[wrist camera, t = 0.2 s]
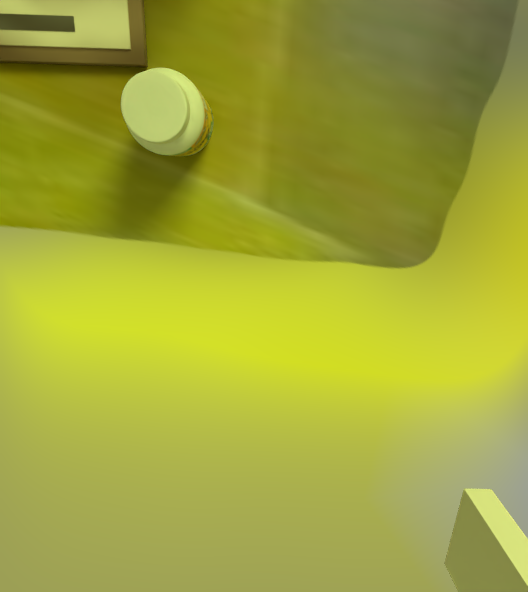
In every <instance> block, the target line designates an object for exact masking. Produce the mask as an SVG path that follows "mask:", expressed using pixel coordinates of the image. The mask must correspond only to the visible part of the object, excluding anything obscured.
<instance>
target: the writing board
mask: <svg viewBox="0 0 528 592" xmlns="http://www.w3.org/2000/svg"><path fill="white" fill-rule="evenodd" d="M0 63H31V64H64V65H96V66H128V67H148V66H147V49H146V32H145V15H144V0H0Z"/></svg>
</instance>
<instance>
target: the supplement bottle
mask: <svg viewBox="0 0 528 592" xmlns="http://www.w3.org/2000/svg"><path fill="white" fill-rule="evenodd" d="M121 111H122V115H123V118H124V120H125V122H126V124H127V126H128V129H129V131H130V133H131V134H132V136H133V137H134V138H135V140H136V141H137V142H138V143H139V144H140V145H142V146H143V147H144V148H146V149H148V150H149V151H151V152H154V153H157V154H160V155H170V156H190V155H193V154H195V153H197V152H199V151H200V150H202V149H203V148H204V147H205V146H206V144H207V143H208V141H209V139H210V137H211V133H212V129H213V115H212V111H211V108H210V106H209V104H208V102H207V101H206V99H205V98H204V97H203V95H202V94H201V93H200V92H199V90H198V89H197V88H196V87H195V85H194V84H193V83H192V82H191V81H190V80H189V79H188V78H187V77H186V76H184V75H183V74H181V73H179V72H177V71H175V70H172V69H168V68H153V69H150V70H147V71H144V72H141V73H138V74H136V75H135V76H134V77H132V78H131V79H130V80H129V81H128V82H127V84H126V86H125V87H124V90H123V92H122V97H121Z"/></svg>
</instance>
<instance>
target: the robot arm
mask: <svg viewBox="0 0 528 592" xmlns="http://www.w3.org/2000/svg"><path fill="white" fill-rule="evenodd" d="M445 565H446V568H447V570H448V572H449V574H450V576H451V578H452V580H453V582H454V584H455V586H456V588H457V590H458V592H528V539H527V537H526V536H525V535H524V533H523V532H522V531H521V529H520V528H519V527H518V525H517V524H516V523H515V521H514V520H513V518H512V517H511V516H510V514H509V513H508V512H507V510H506V509H505V508H504V506H503V505H502V504H501V502H500V501H499V499H498V498H497V497H496V495H495V494H494V492H493V491H492V490H491V489H464V491H463V495H462V498H461V502H460V506H459V510H458V513H457V518H456V521H455V525H454V529H453V532H452V537H451V540H450V544H449V548H448V552H447V555H446V559H445Z"/></svg>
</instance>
